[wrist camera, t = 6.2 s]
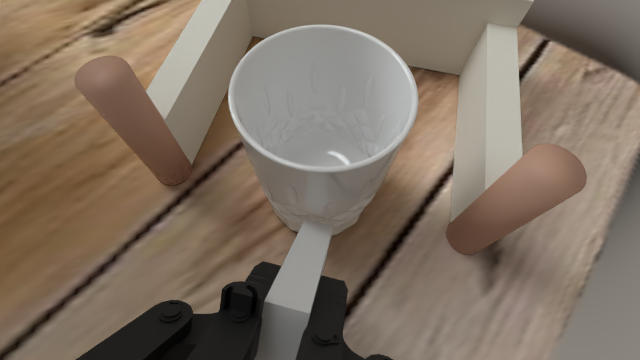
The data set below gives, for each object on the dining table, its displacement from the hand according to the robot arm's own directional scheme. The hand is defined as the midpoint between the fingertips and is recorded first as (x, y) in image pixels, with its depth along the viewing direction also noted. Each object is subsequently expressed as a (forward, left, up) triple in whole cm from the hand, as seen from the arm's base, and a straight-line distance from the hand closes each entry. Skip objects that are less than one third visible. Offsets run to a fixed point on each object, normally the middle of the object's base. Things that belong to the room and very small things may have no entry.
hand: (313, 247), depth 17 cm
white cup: (-4, +3, -4) cm, 6 cm away
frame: (-9, +6, -4) cm, 12 cm away
